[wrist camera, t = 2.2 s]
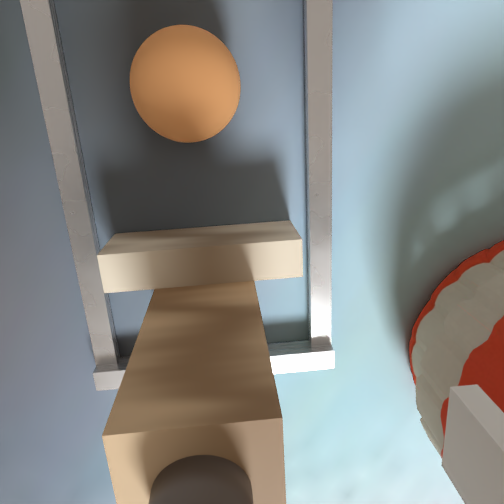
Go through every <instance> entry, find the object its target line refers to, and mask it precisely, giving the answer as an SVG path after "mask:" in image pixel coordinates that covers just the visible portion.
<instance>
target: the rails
mask: <svg viewBox="0 0 504 504" xmlns="http://www.w3.org/2000/svg"><path fill="white" fill-rule="evenodd" d="M20 3H21V8H22V13H23V17H24V22H25V27H26V32H27V37H28V41H29V46H30V51H31V56H32V61H33V65H34V70H35V75H36V80H37V84H38V89H39V94H40V99H41V104H42V108H43V113H44V118H45V123H46V127H47V132H48V137H49V142H50V147H51V151H52V156H53V161H54V166H55V170H56V175H57V180H58V185H59V190H60V194H61V199H62V204H63V209H64V214H65V218H66V223H67V228H68V233H69V237H70V242H71V247H72V252H73V257H74V261H75V266H76V271H77V276H78V280H79V285H80V290H81V295H82V300H83V304H84V309H85V314H86V319H87V324H88V328H89V333H90V338H91V343H92V347H93V352H94V357H95V362H96V368H95V370H94V372H93V376H94V381H95V386H96V390H97V391H100V390H110V389H119V387H120V384H121V382H122V379H123V376H124V373H125V370H126V368H127V365H128V362H129V359H130V356H126V357H120V355H119V350H118V344H117V339H116V334H115V328H114V323H113V317H112V312H111V307H110V301H109V296H108V293H104V291H103V285H102V280H101V275H100V269H99V264H98V259H97V255H98V253H99V252H100V248H99V242H98V237H97V232H96V226H95V221H94V215H93V210H92V205H91V199H90V194H89V189H88V183H87V178H86V173H85V167H84V162H83V156H82V151H81V146H80V140H79V135H78V130H77V124H76V119H75V113H74V108H73V103H72V97H71V92H70V87H69V81H68V76H67V71H66V65H65V60H64V54H63V49H62V44H61V38H60V33H59V28H58V22H57V17H56V12H55V6H54V1H53V0H20ZM304 56H305V120H306V183H307V246H308V310H309V340H302V341H291V342H280V343H269V344H267V346H268V350H269V355H270V360H271V365H272V370H273V374H279V373H289V372H300V371H310V370H321V369H331V368H334V349H333V347H332V345H331V246H332V0H304Z"/></svg>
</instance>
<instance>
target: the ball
mask: <svg viewBox="0 0 504 504" xmlns="http://www.w3.org/2000/svg"><path fill="white" fill-rule="evenodd" d="M130 91H131V95H132V99H133V102H134V105H135V107H136V109H137V111H138V113H139V114H140V116H141V118H142V119H143V120H144V121H145V123H146V124H147V125H148V126H149V127H150V128H151V129H153V130H154V131H155V132H157V133H158V134H160V135H161V136H163V137H165V138H168V139H170V140H173V141H177V142H184V143H192V142H199V141H203V140H206V139H208V138H211V137H213V136H214V135H216V134H218V133H219V132H220V131H221V130H223V129H224V127H225V126H226V125H227V124H228V123H229V122H230V120H231V119H232V117H233V115H234V113H235V111H236V109H237V106H238V103H239V99H240V76H239V72H238V68H237V65H236V62H235V60H234V58H233V56H232V54H231V53H230V51H229V50H228V48H227V47H226V46H225V45H224V44H223V42H222V41H221V40H219V39H218V38H217V37H216V36H215V35H213V34H211V33H210V32H208V31H206V30H204V29H202V28H199V27H196V26H191V25H173V26H169V27H165V28H163V29H160V30H158V31H157V32H155V33H153V34H152V35H151V36H149V37H148V38H147V39H146V40H145V41H144V42H143V43H142V45H141V46H140V47H139V49H138V51H137V52H136V54H135V57H134V59H133V62H132V65H131V70H130Z"/></svg>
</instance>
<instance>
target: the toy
mask: <svg viewBox="0 0 504 504" xmlns="http://www.w3.org/2000/svg"><path fill="white" fill-rule="evenodd" d="M409 355H410V366H411V372H412V374H413V380H414V383H415V385H416V404H417V409H418V411H419V413H420V414H421V416H422V418H421V419H420V421H421V423H422V426H423V428H424V429H425V431H426V433H427V435H428V437H429V439H430V441H431V442H432V444H433V445H434V447H435V448H436V450H437V451H438V453H439V455H440V456H441V458H442V457H443V448H444V439H445V430H446V421H447V411H448V402H449V393H450V387H454V386H465V385H476V384H477V385H478V386H479V387H480V388H481V389H482V390H483V391H484V392H485V393H486V394H487V395H488V396H489V398H490V399H491V400H492V401H493V402H494V403H495V404H496V405H497V406H498V407H499V408H500V409H501V410H502V412H503V413H504V240H503V241H501V242H499V243H497V244H495V245H494V246H492V247H491V248H490V249H485V250H482V251H480V252H479V253H477V254H475V255H473V256H471V257H469V258H468V259H466V260H465V261H463V262H462V263H461V264H460V265H459V266H458V268H457V269H455V270H453V271H452V272H451V273H450V274H449V275H448V276H447V277H446V278H445V279H444V280H443V281H442V282H441V283H440V284H439V285H438V287H437V288H436V289H435V290H434V292H433V293H432V295H431V299H430V300H429V301H428V303H427V304H426V305H425V307H424V308H423V310H422V311H421V313H420V315H419V316H418V318H417V320H416V322H415V324H414V326H413V328H412V336H411V339H410V342H409Z"/></svg>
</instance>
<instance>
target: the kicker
mask: <svg viewBox="0 0 504 504" xmlns="http://www.w3.org/2000/svg"><path fill="white" fill-rule="evenodd" d="M97 259H98V264H99V269H100V275H101V280H102V285H103V291H104V293H113V292H125V291H137V290H149V289H154V292H153V295H152V298H151V301H150V303H149V306H148V309H147V312H146V315H145V317H144V320H143V323H142V326H141V329H140V331H139V334H138V337H137V340H136V342H135V345H134V348H133V351H132V354H131V356H130V359H129V362H128V365H127V368H126V370H125V373H124V376H123V379H122V382H121V384H120V387H119V390H118V393H117V396H116V398H115V401H114V404H113V407H112V409H111V412H110V415H109V418H108V421H107V423H106V426H105V429H104V432H103V435H102V438H103V443H104V447H105V452H106V457H107V461H108V466H109V470H110V475H111V480H112V484H113V489H114V493H115V498H116V503H117V504H286V491H285V467H284V444H283V420H282V413H281V409H280V404H279V399H278V394H277V389H276V384H275V380H274V375H273V370H272V365H271V360H270V355H269V350H268V346H267V341H266V336H265V331H264V326H263V321H262V317H261V312H260V307H259V302H258V297H257V292H256V288H255V283H254V281H257V280H269V279H281V278H293V277H303V256H302V238H301V237H300V235H299V234H298V232H297V230H296V229H295V227H294V226H293V224H292V223H291V221H290V220H288V221H275V222H262V223H249V224H235V225H222V226H209V227H196V228H183V229H170V230H156V231H143V232H130V233H117V234H114V235H113V237H112V238H111V239H110V240H109V241H108V243H107V244H106V245H105V246H104V247H103V249H102V250H101V251H100V252H99V253H98V255H97Z"/></svg>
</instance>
